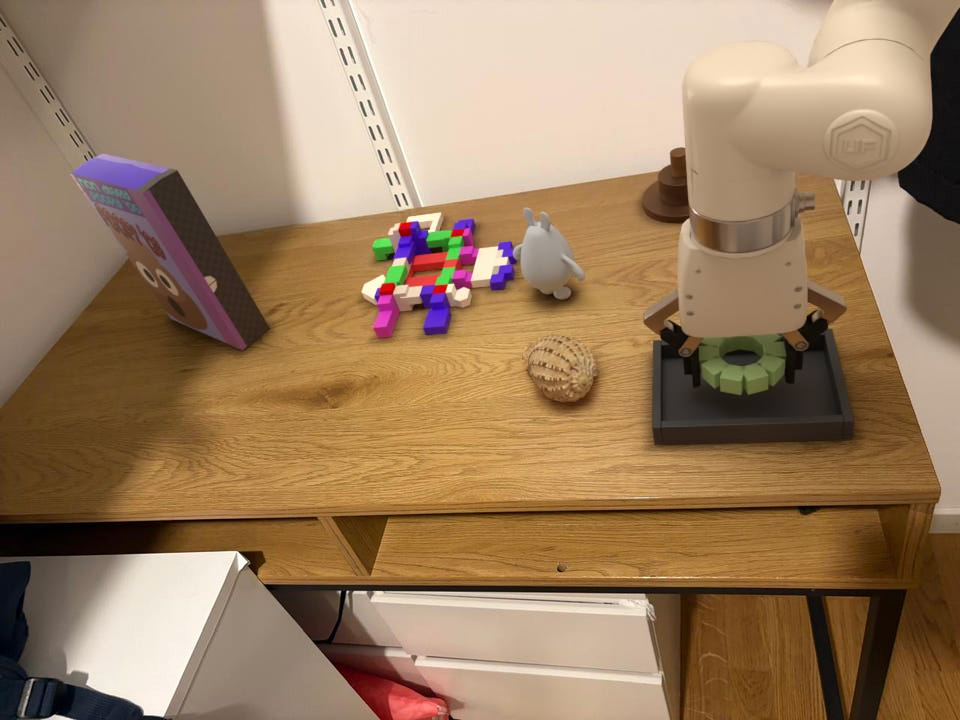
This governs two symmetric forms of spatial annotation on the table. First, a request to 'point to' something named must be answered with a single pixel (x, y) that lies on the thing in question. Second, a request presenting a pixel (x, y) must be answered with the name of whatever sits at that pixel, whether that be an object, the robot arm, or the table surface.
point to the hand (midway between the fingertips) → (741, 373)
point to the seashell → (560, 367)
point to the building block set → (434, 289)
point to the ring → (742, 376)
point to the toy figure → (546, 257)
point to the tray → (752, 401)
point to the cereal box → (172, 247)
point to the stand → (669, 191)
